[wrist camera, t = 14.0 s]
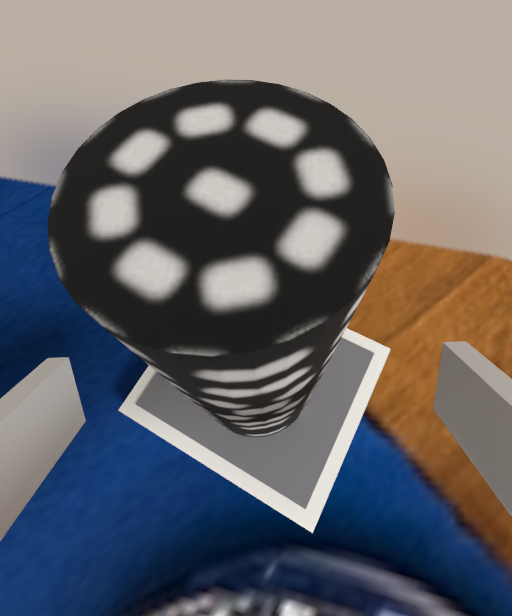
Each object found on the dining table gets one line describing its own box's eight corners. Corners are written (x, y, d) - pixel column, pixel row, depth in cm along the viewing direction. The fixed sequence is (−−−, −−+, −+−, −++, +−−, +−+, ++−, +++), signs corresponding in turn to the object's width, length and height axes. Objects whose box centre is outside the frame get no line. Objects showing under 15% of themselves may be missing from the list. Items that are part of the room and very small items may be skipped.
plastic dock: (135, 416, 30) (116, 409, 27) (221, 286, 35) (215, 264, 31) (307, 524, 26) (312, 534, 23) (378, 361, 31) (391, 347, 27)
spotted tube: (331, 363, 27) (451, 147, 9) (272, 462, 25) (270, 444, 6) (242, 309, 29) (190, 47, 11) (178, 394, 27) (-26, 236, 8)
